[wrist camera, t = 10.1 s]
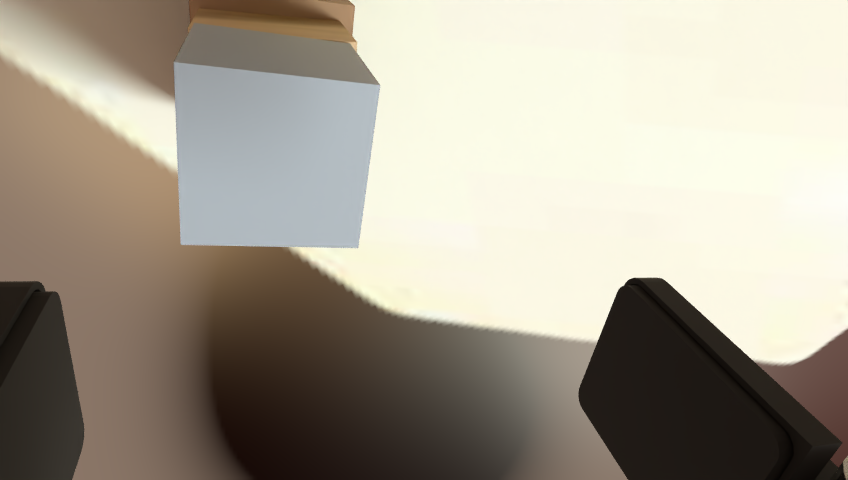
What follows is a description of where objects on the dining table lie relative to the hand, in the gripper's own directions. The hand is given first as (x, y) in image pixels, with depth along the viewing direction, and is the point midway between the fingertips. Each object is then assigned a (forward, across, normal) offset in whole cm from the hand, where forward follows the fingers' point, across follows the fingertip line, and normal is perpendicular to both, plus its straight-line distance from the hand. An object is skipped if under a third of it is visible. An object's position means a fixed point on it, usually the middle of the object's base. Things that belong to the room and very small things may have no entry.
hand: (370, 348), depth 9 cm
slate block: (+15, +1, 0) cm, 15 cm away
